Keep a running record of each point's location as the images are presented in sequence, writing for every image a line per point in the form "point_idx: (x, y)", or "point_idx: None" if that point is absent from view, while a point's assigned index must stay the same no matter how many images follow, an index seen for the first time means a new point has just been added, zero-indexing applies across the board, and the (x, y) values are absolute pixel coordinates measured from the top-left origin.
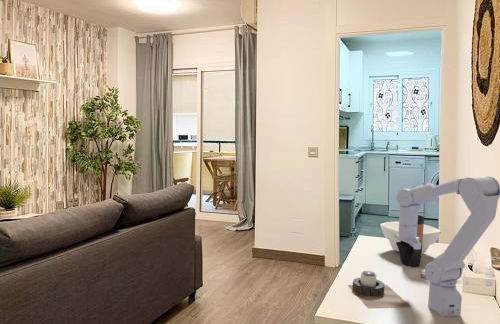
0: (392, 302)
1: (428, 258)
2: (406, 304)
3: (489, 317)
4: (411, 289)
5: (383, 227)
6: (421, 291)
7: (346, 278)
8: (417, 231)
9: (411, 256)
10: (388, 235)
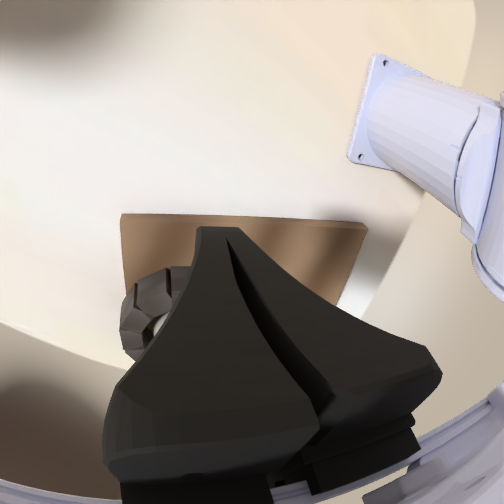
0: (311, 276)
1: None
2: (344, 237)
3: (468, 8)
4: (158, 87)
5: None
6: (197, 44)
7: (43, 325)
8: None
9: (289, 281)
10: None
